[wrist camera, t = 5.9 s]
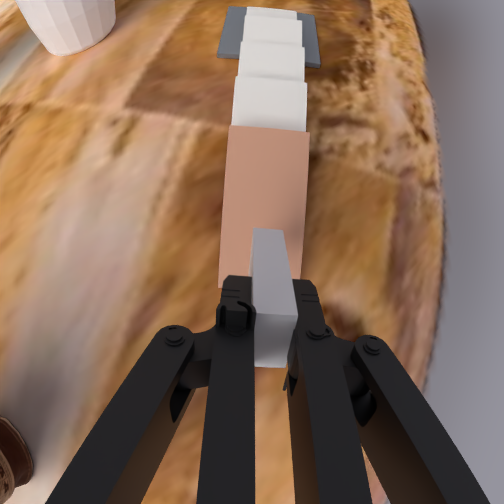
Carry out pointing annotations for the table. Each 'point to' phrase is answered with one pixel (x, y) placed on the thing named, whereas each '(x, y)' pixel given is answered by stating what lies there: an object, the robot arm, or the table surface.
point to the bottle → (69, 23)
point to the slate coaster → (235, 29)
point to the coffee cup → (12, 460)
